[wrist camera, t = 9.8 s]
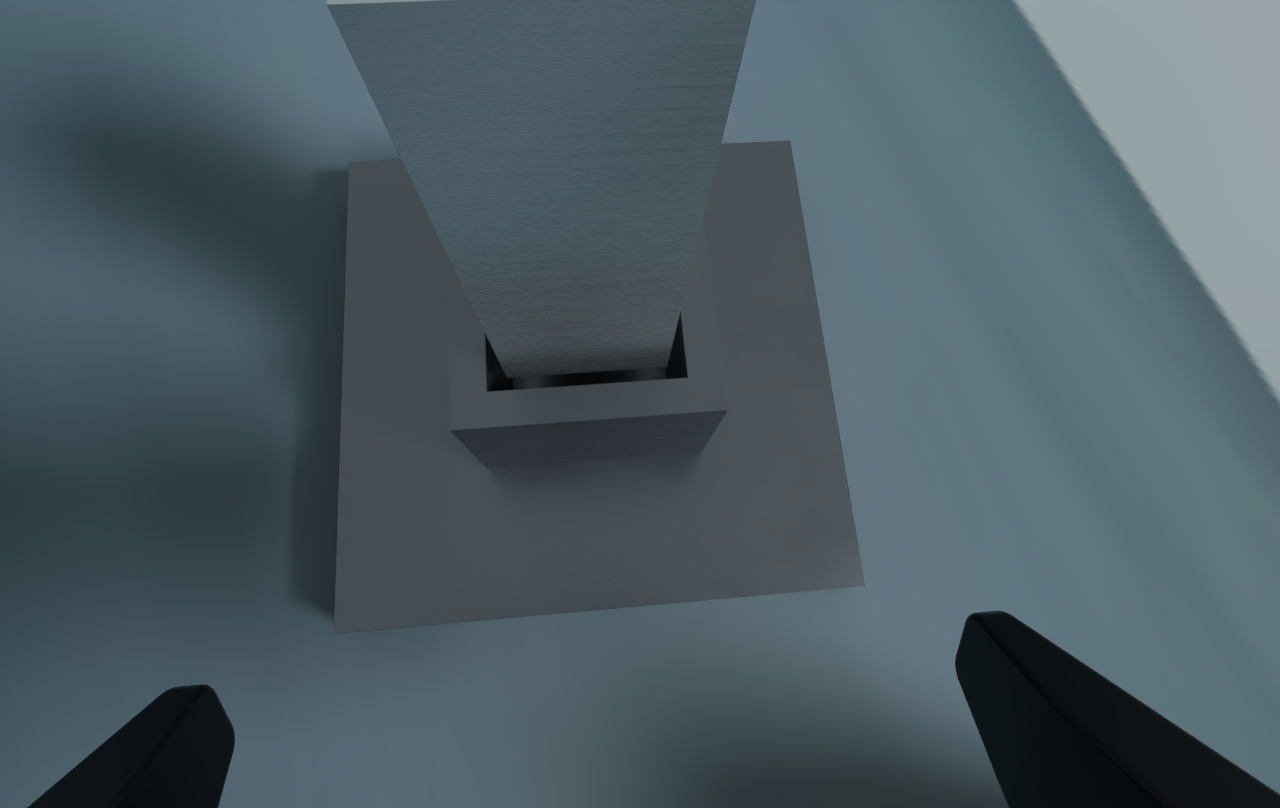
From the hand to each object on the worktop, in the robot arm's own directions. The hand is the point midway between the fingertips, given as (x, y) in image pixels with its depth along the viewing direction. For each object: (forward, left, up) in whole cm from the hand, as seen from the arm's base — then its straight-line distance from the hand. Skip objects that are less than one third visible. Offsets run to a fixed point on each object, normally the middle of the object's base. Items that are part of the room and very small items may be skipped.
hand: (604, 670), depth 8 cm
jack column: (+7, +4, -6) cm, 10 cm away
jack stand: (+7, +4, -11) cm, 14 cm away
